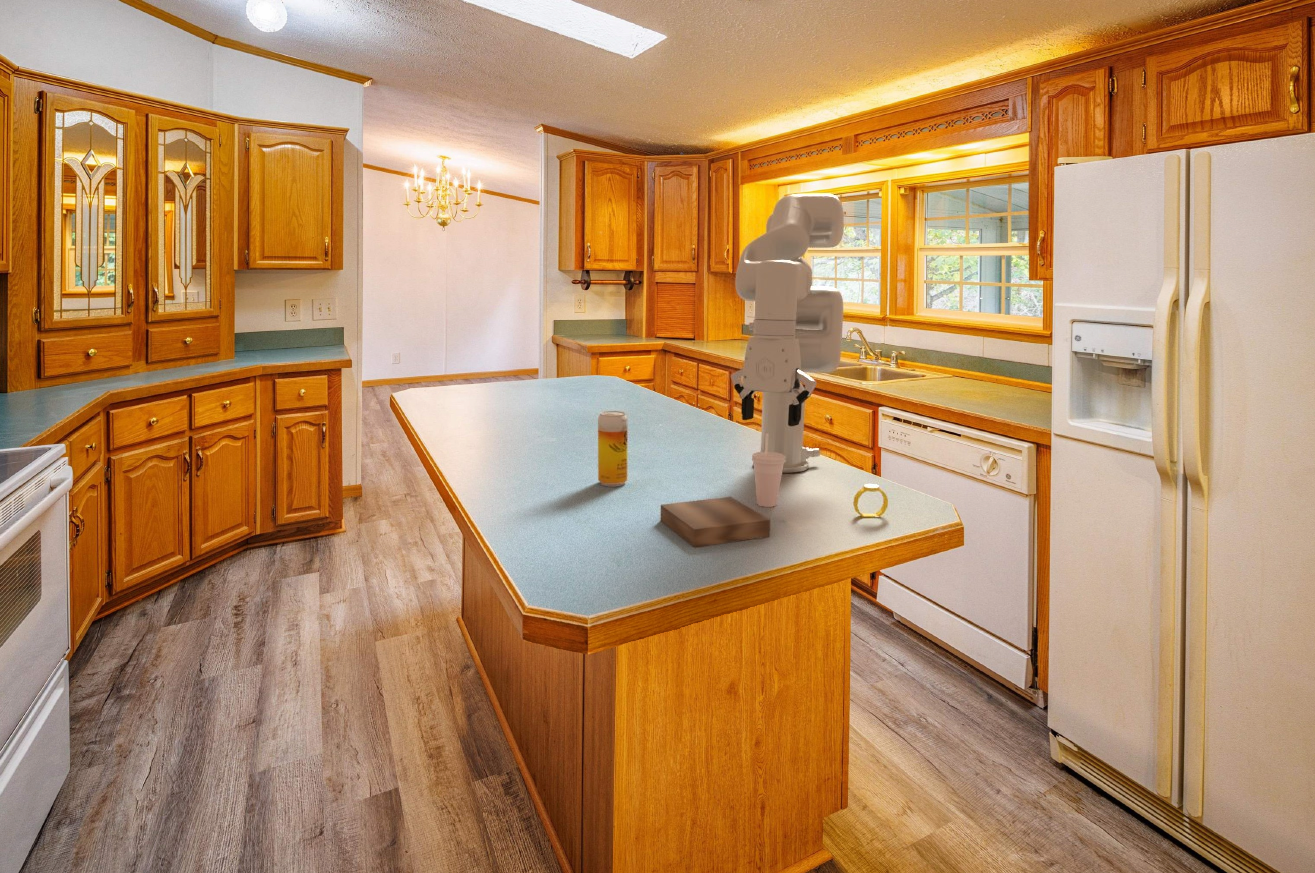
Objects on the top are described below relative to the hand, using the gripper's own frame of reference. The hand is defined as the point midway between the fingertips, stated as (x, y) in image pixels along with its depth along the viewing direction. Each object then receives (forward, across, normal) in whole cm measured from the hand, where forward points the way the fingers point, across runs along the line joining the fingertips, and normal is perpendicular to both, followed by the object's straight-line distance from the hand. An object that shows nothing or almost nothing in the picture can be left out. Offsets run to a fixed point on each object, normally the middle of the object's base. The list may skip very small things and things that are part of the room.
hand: (770, 422), depth 136 cm
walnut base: (+17, -1, -17) cm, 24 cm away
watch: (+16, +18, +7) cm, 25 cm away
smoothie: (+16, 0, +1) cm, 16 cm away
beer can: (+16, -33, -7) cm, 37 cm away
